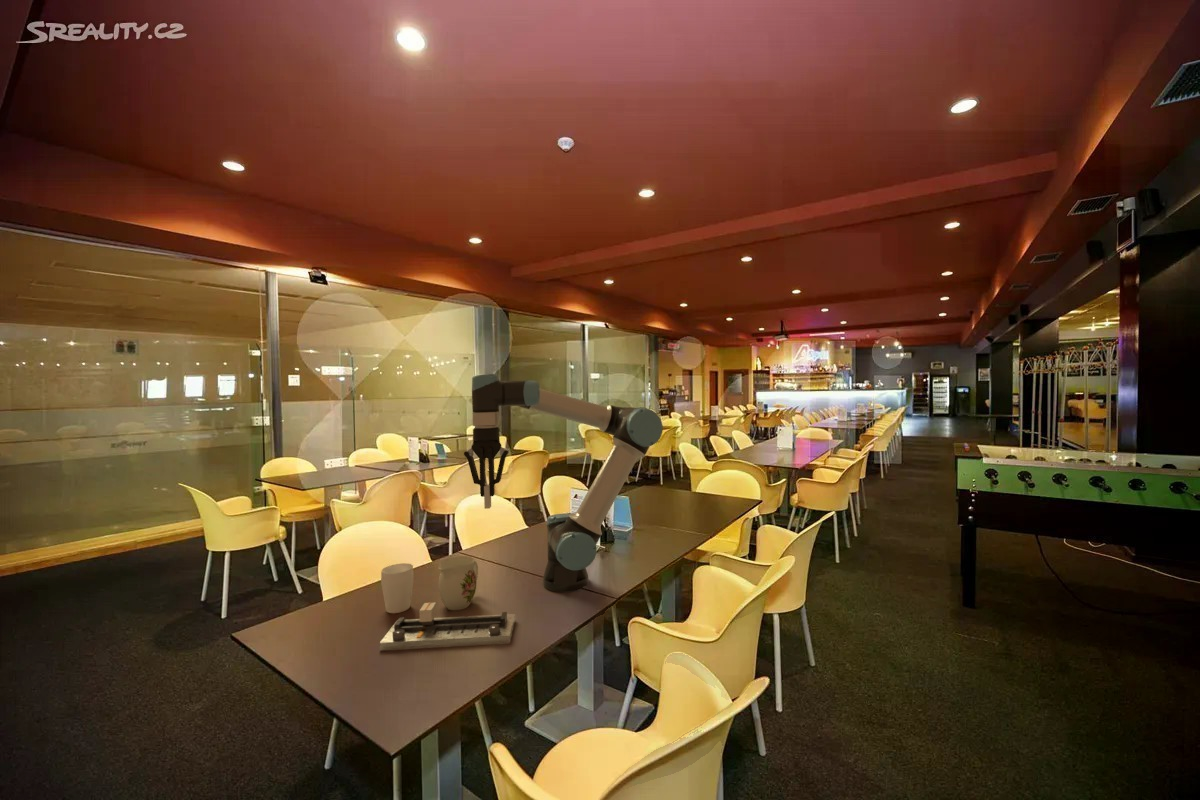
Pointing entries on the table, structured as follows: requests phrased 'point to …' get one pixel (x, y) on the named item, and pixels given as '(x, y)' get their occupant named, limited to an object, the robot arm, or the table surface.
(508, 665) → the table surface
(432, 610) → the fader
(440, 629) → the console
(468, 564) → the pitcher
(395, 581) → the cup
